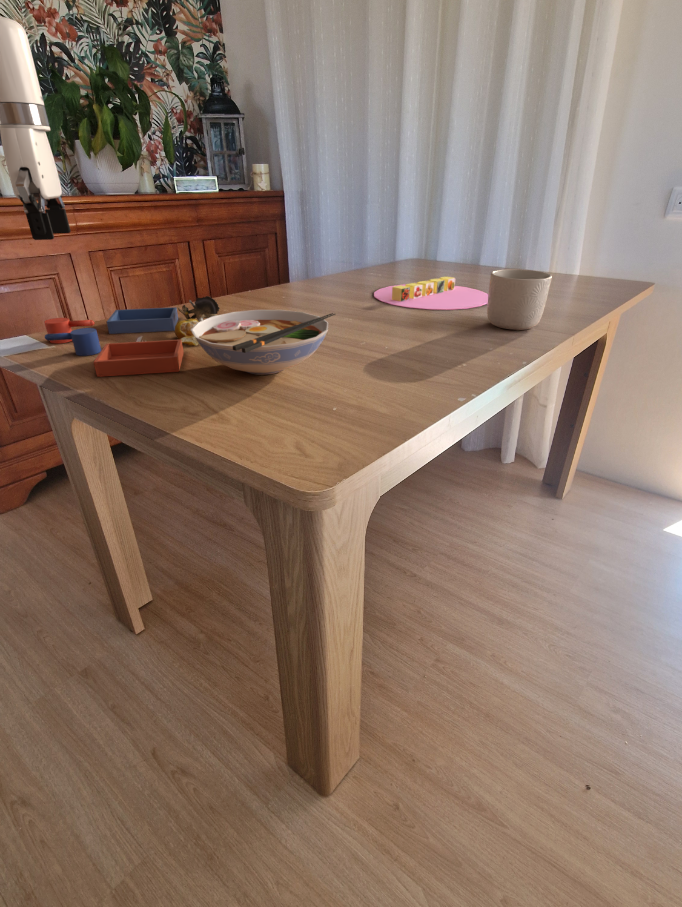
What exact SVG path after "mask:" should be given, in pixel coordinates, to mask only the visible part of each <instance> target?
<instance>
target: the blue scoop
mask: <svg viewBox="0 0 682 907" xmlns="http://www.w3.org/2000/svg"><path fill="white" fill-rule="evenodd" d="M71 339H72V341H71V342H72V345H73V348H74V353H75V355H76V356H79V357H87V356H94V355H97V354H99V353H100V352H101V350H102V348H101V343H100V338H99V335H98V332H97V328H94V327H83V328H82V327H81V328H77V329H72V331H71V332H70V333H56V334H48V333H46V334H44V340H46V341H49V342H50V341H51V340H71Z"/></svg>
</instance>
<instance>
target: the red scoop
mask: <svg viewBox="0 0 682 907" xmlns="http://www.w3.org/2000/svg"><path fill="white" fill-rule="evenodd" d="M94 325H95V321H94V320H93V319H79V320H70V319H69V318H68V317H54V318H49V319H46V320H44V326H45V330H46V334H56V333H70V332H71V331H73V329H72V328H80V327H81V328H82V327H94ZM70 342H73V341H72V339H71V340H51V341H49V343H51V344H58V345H59V344H66V343H67V344H68V343H70Z"/></svg>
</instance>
